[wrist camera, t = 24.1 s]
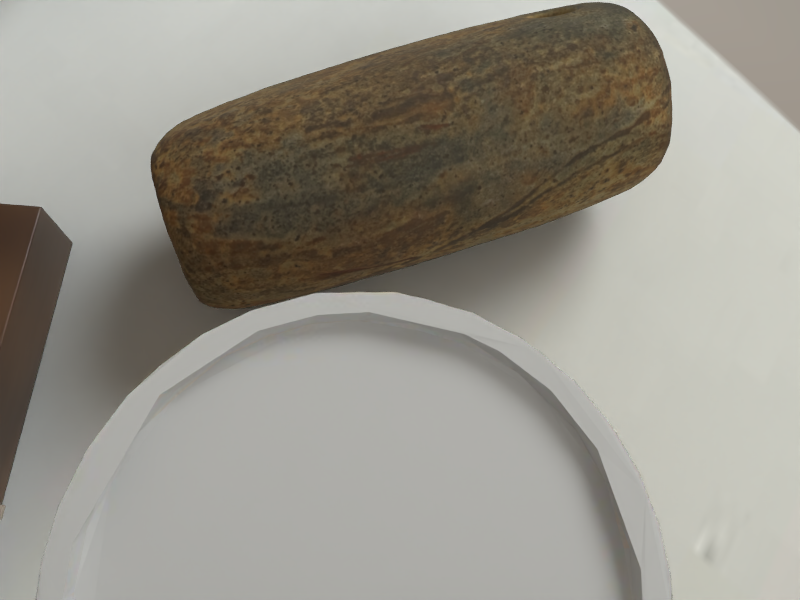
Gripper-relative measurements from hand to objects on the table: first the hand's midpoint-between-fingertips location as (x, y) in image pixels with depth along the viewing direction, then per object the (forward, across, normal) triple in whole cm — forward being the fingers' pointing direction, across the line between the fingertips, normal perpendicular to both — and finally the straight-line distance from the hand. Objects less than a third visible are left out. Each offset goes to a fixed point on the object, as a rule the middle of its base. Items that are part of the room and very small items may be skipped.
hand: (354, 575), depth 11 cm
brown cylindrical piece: (+16, -2, +1) cm, 16 cm away
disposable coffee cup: (+8, 0, -8) cm, 11 cm away
